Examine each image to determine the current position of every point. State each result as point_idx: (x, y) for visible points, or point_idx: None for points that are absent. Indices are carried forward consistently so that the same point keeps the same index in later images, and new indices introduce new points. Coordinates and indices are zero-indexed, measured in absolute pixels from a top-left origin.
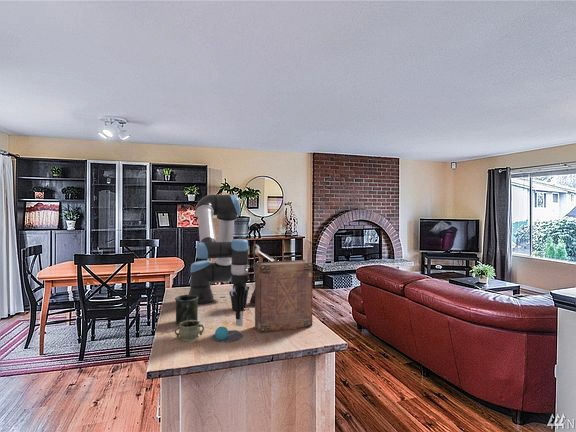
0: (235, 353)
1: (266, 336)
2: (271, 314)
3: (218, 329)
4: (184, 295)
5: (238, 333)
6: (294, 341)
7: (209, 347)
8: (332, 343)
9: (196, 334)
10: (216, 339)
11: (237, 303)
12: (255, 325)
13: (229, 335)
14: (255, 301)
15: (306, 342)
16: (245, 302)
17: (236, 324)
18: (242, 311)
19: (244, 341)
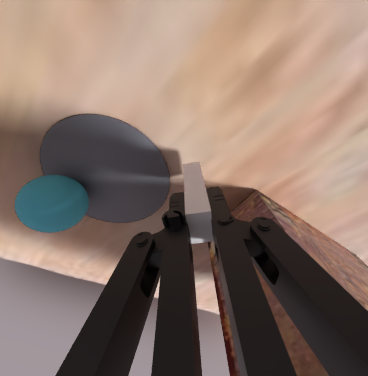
0: (65, 259)
1: (194, 252)
2: None
3: (18, 217)
4: None
5: (155, 193)
6: (203, 289)
7: (5, 199)
8: None
9: None
10: (51, 174)
11: (136, 337)
12: (251, 198)
13: (116, 183)
14: None
15: (211, 299)
16: (278, 293)
17: (183, 169)
18: (208, 241)
19: (127, 236)
